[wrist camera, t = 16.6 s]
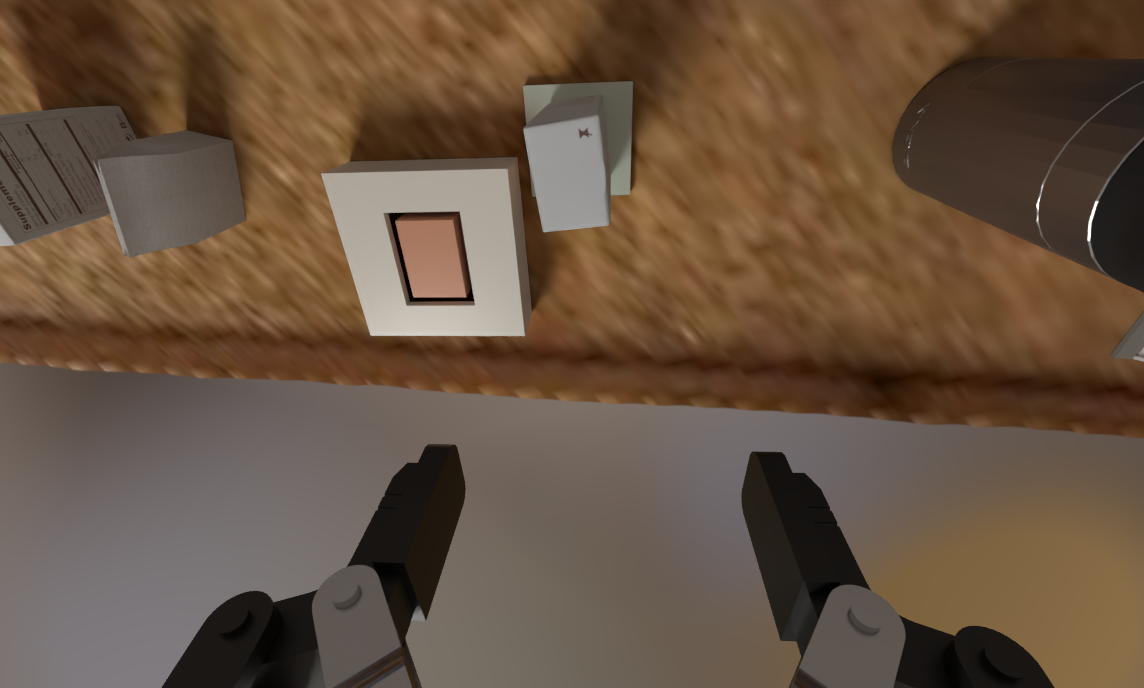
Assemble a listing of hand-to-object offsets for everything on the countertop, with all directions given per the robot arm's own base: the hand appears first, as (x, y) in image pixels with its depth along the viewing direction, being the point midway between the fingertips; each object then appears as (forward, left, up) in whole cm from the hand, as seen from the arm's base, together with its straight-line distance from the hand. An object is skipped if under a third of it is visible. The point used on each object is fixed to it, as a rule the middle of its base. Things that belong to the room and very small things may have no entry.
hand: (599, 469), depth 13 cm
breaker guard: (+14, +4, -30) cm, 33 cm away
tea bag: (+33, -2, -30) cm, 45 cm away
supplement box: (+42, -4, -30) cm, 52 cm away
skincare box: (+2, -4, -30) cm, 30 cm away
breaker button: (+14, +4, -30) cm, 33 cm away
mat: (+2, -4, -30) cm, 30 cm away
